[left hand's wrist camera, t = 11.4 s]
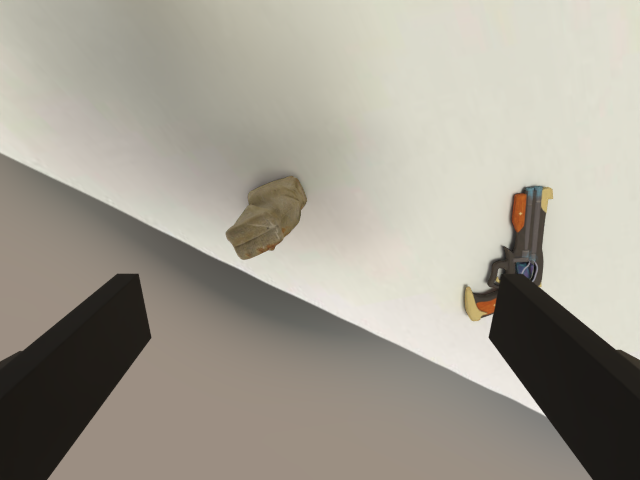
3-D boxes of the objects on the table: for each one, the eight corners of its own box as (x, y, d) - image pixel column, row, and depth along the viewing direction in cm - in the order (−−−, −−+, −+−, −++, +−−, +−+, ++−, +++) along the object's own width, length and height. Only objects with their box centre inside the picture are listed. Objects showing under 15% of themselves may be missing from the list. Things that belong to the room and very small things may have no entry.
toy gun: (467, 325, 50) (543, 324, 49) (473, 192, 45) (558, 187, 43) (462, 315, 53) (534, 314, 51) (467, 189, 47) (547, 184, 46)
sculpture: (244, 185, 45) (210, 219, 31) (295, 164, 44) (284, 190, 30) (263, 225, 47) (239, 274, 33) (313, 205, 46) (310, 248, 32)
